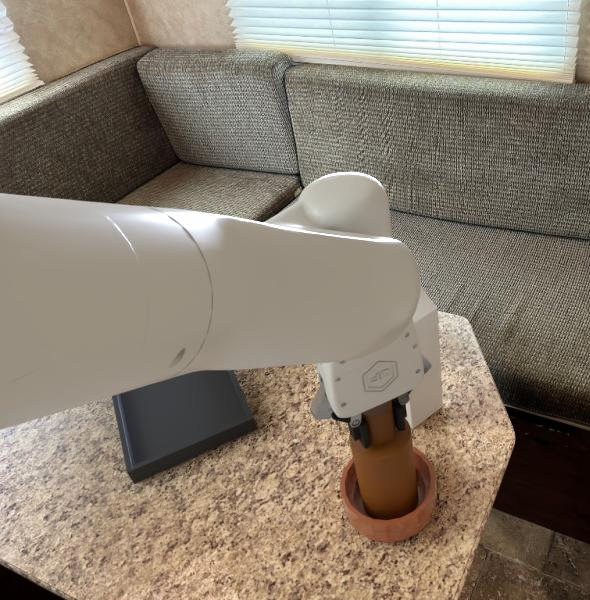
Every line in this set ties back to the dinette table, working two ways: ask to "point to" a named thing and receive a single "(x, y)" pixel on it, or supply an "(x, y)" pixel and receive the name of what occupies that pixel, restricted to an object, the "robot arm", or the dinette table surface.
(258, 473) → the dinette table surface
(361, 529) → the bowl
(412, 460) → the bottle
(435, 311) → the milk
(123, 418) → the tray
